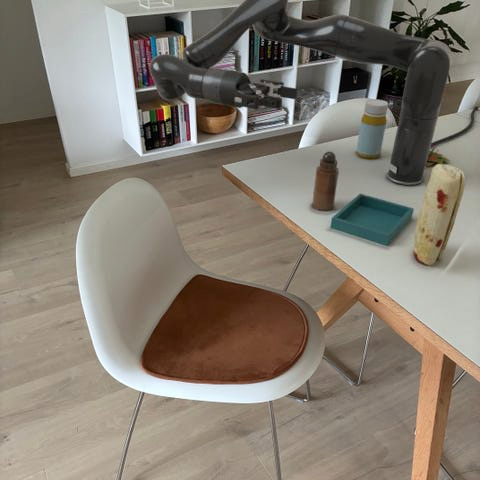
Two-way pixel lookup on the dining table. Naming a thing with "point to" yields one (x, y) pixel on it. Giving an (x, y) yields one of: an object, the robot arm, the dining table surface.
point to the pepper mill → (325, 183)
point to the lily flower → (435, 157)
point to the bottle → (372, 129)
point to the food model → (438, 213)
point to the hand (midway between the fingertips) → (289, 98)
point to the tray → (372, 219)
